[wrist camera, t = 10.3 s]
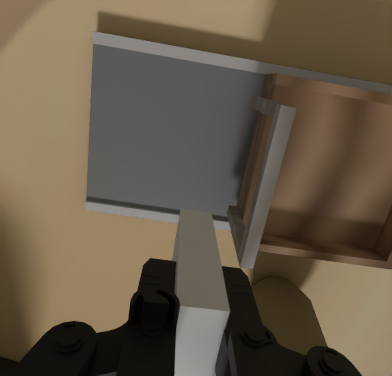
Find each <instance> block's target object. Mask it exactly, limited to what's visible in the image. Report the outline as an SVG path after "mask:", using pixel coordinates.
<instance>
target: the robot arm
mask: <svg viewBox="0 0 392 376" xmlns="http://www.w3.org/2000/svg"><path fill="white" fill-rule="evenodd" d="M215 373H216V376H362V375H361V374H360V372H359V371H358V370H357V369H356V368H355V366H354V365H353V364H352V363H351V362H350V361H349V360H348V359H347V358H346V357H345V356H344V355H342V354H341V353H339V352H338V351H336V350H334V349H331V348H329V347H326V346H314V347H312V348H310V349H309V351H308V352H307V354H306V355H304V354H301V353H298V352H296V351H293V350H290V349H288V348H286V347H284V346H281V345H280V344H278V343H277V340H276V338H275V336H274V334H273V333H272V332H271V331H270V330H269V329H268V328H267V327H266V326H264V325H263V324H262V321H261V317H260V314H259V311H258V308H257V304H256V301H255V298H254V296H253V292H252V288H251V285H250V282H249V279H248V277H247V275H246V274H245V273H244V272H243V271H242V270H241V269H240V268H233V267H225V266H221V261H220V255H219V250H218V245H217V240H216V234H215V229H214V224H213V218H212V213H208V212H201V211H194V210H186V209H180V214H179V221H178V227H177V233H176V239H175V245H174V252H173V258H172V261H169V260H161V259H153V258H150V259H149V260H148V261H147V262H146V263H145V264H144V265H143V269H142V273H141V277H140V282H139V286H138V290H137V292H136V293H134V295H133V296H132V298H131V301H130V310H129V319H128V321H127V322H126V323H125V324H123V325H122V326H121V327H118V328H116V329H114V330H110V331H105V332H99V333H96V332H95V331H94V329H93V328H92V327H91V326H90V325H88V324H86V323H84V322H77V321H71V322H64V323H61V324H59V325H56V326H54V327H52V328H51V329H50V330H49V331H48V332H46V333H45V334H44V335H43V336H42V337H41V339H40V340H39V341H38V342H37V343H36V344H35V345H34V346H33V347H32V349H31V350H30V351H29V352H28V353H27V354H26V355H25V356H24V357H23V359H22V360H21V361H20V362H19V363H18V364H17V363H15V362H12V361H9V360H6V359H1V358H0V376H214V374H215Z"/></svg>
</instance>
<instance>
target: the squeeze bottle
mask: <svg viewBox="0 0 392 376" xmlns="http://www.w3.org/2000/svg"><path fill="white" fill-rule="evenodd" d="M252 292H253V296H254V298H255V301H256V304H257V308H258V311H259V314H260V317H261V321H262V324H263V325H264V326H266V327H267V328H268V329H269V330H270V331H271V332H272V333H273V334H274V336H275V338H276V340H277V343H278V344H280V345H281V346H284V347H286V348H288V349H290V350H293V351H296V352H298V353H301V354H304V355H306V354H307V352H308V351H309V349H310V348H312V347H314V346H326V347H328V346H327V344H326V341H325V338H324V336H323V333H322V330H321V328H320V325H319V322H318V319H317V317H316V314H315V311H314V309H313V306H312V303H311V300H310V299H309V298H308V297H307V296H306V295H305V294H304V293H303V292H302V291H301V290H299V289H298V288H297V287H296V286H294V285H293V284H292V283H291V282H290V281H288V280H287V279H284V278H282V277H272V276H271V277H267V278H264V279H261V280H260V281H259V282H257V283H256V284H255V285H254V286H253V288H252Z"/></svg>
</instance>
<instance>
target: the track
mask: <svg viewBox="0 0 392 376" xmlns="http://www.w3.org/2000/svg"><path fill="white" fill-rule="evenodd" d="M92 43H93V63H92V86H91V108H90V131H89V153H88V176H87V198H86V201H85V210H89V211H96V212H103V213H110V214H117V215H124V216H131V217H138V218H145V219H152V220H159V221H166V222H173V223H178V221H179V214H180V209H186V210H194V211H201V212H208V213H212V218H213V224H214V228H215V229H222V230H229V231H231V229H230V225H229V221H228V217H227V211H228V206H229V205H231V206H237V202H238V197H239V193H240V189H241V184H242V180H243V176H244V171H245V167H246V163H247V158H248V154H249V150H250V145H251V141H252V136H253V132H254V128H255V123H256V119H257V115H258V110H256V109H254V108H253V107H251V102H252V97H253V95H255V96H261V97H262V93H263V89H264V84H265V80H266V76H267V74H282V75H288V76H293V77H299V78H304V79H310V80H316V81H321V82H327V83H332V84H338V85H343V86H349V87H355V88H360V89H366V90H371V91H377V92H382V93H388V94H392V85H387V84H381V83H376V82H370V81H365V80H359V79H353V78H348V77H342V76H337V75H331V74H326V73H320V72H315V71H309V70H304V69H298V68H293V67H287V66H282V65H276V64H271V63H265V62H260V61H254V60H249V59H243V58H238V57H232V56H227V55H221V54H216V53H210V52H205V51H199V50H194V49H188V48H183V47H177V46H172V45H166V44H161V43H155V42H150V41H144V40H139V39H133V38H128V37H122V36H117V35H111V34H106V33H100V32H95V31H93V33H92Z"/></svg>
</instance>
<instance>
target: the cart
mask: <svg viewBox="0 0 392 376" xmlns="http://www.w3.org/2000/svg"><path fill="white" fill-rule="evenodd" d="M251 107H253V108H254V109H256V110H258V115H257V119H256V123H255V128H254V132H253V136H252V141H251V145H250V150H249V154H248V158H247V163H246V167H245V171H244V176H243V180H242V184H241V189H240V193H239V197H238V202H237V206H231V205H229V206H228V211H227V217H228V221H229V225H230V229H231V233H232V237H233V241H234V245H235V249H236V253H237V257H238V261H239V265H240V267H242V268H249V269H253V267H254V263H255V259H256V256H257V252H258V251H262V252H269V253H276V254H283V255H290V256H298V257H305V258H312V259H319V260H326V261H334V262H341V263H348V264H355V265H362V266H370V267H377V268H384V269H392V94H388V93H382V92H377V91H371V90H366V89H360V88H355V87H349V86H343V85H338V84H332V83H327V82H321V81H316V80H310V79H304V78H299V77H293V76H288V75H282V74H267V76H266V80H265V84H264V89H263V93H262V97H261V96H255V95H253V97H252V102H251Z"/></svg>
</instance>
